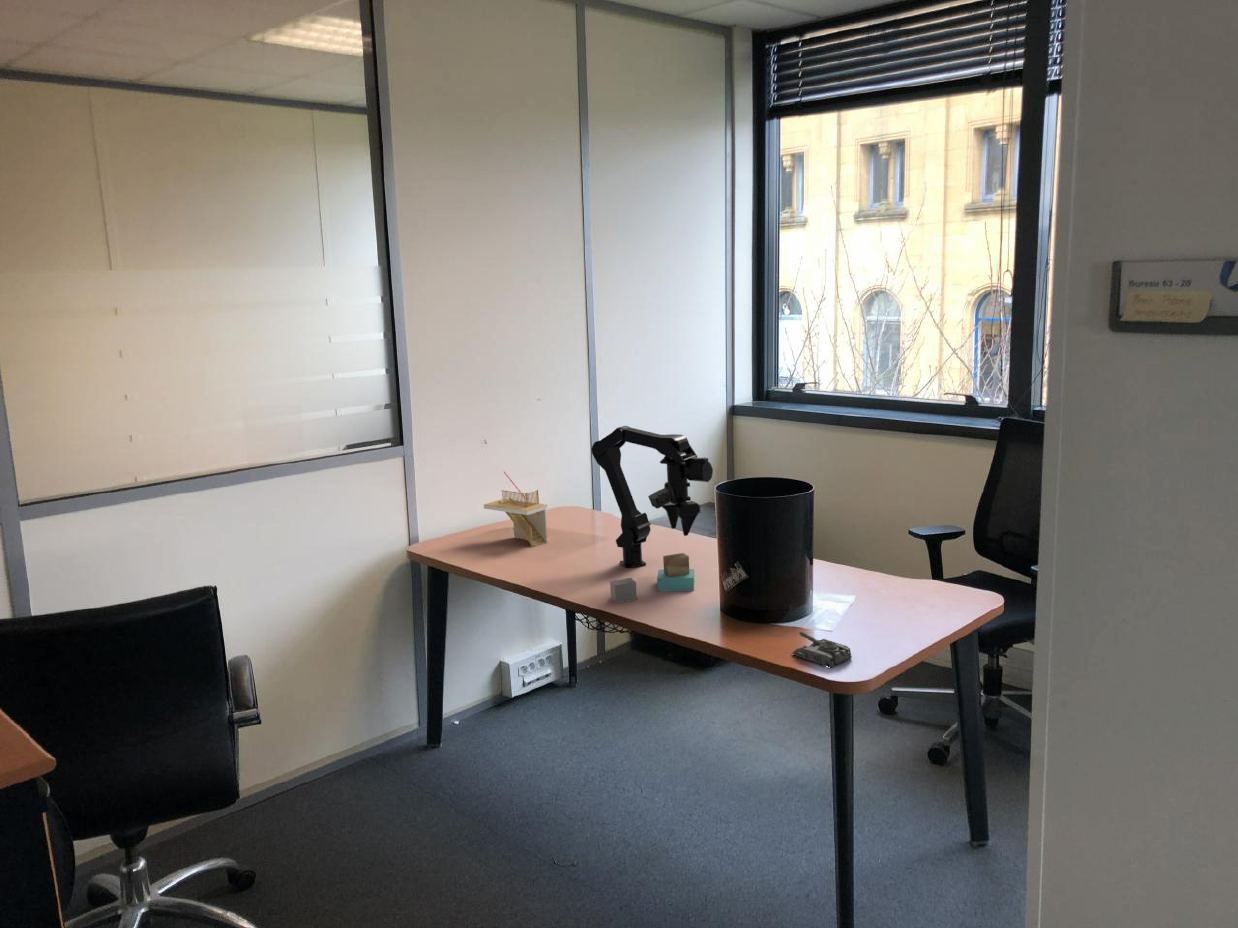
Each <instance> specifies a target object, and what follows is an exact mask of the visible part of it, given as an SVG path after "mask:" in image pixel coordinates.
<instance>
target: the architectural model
mask: <svg viewBox="0 0 1238 928" xmlns="http://www.w3.org/2000/svg"><path fill="white" fill-rule="evenodd" d="M503 473H504V475H505V476H506V477H507V478H508V479H509V481H510V482H511V483H512V485H514V487H515V488H516V489H517V490H518V492H517V491H510V490H500V491H501V494H502V495H501V496H502V499H497V500H495V501H494V500H493V501H492V502H488V503H484V504H483V509H485V510H492V511H499V512H504V513H505V514H506V515H507V516H508V517H509V519H510V520H511V521H512V523H513V533H514V534H513V535H514V538H515V539H519V538H520V539H519V540H525V541H527V542H529V544H530V547H531V548H532V547H533V548H534V547H538V546H541V545H543V544H548V543H549V542H548V527H547V511H546V510H548V504H545V503H540V498H539V497H540V496H539V489H536V490H533V491H532V492H524V493H523V492H521V490H520V489H519V488H518V486H517V485H516V484H515V483H514V481H512V479H511V478H510V477H509V475H508V474H507V473H506V472H505V471H503Z"/></svg>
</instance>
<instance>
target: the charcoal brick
mask: <svg viewBox="0 0 1238 928" xmlns="http://www.w3.org/2000/svg"><path fill="white" fill-rule="evenodd" d="M609 582H610V583H609V585H610V599H611V600H612V601H613V602H614V603H615V602H616V603H615V604H618V603H623V602H622V601H624V602H629V600H630V601H636V600H638V598H637V597H638V594H637V592H638V591H637V582H636V580H634V579H633V578H632V577H629V578H621V579H615V580H609ZM617 602H618V603H617Z"/></svg>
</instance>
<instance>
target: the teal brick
mask: <svg viewBox="0 0 1238 928" xmlns="http://www.w3.org/2000/svg"><path fill="white" fill-rule="evenodd" d="M656 586H657V592H670V591H671V592H674V591H675V592H676V591H678V592H679V590H680V591H683V590H684V591H694V590H695V569H694V568H689V574H685V575H679V576H673V577H669V576H667V575H666V574H664V569H658V572H657V577H656Z"/></svg>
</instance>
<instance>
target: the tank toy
mask: <svg viewBox="0 0 1238 928" xmlns="http://www.w3.org/2000/svg"><path fill="white" fill-rule="evenodd" d="M798 633H799V635H800V636H801V637H802V638H804V639H807V640H809V641H810V642H812V643H811V644H810V645H809V646H807V645H803V646H801V647H798V648H795V650H794V651H793V652H792V653H791V654H794V655H796V656H795V657H798V656H799V657H798V658H801V657H802V659H805V660H808V661H811V662H814V663H817V664H819V665H827V666H828V665H829V666H828V667H830V668H829V669H831V668H834V666H835V665H838V664H841V662H845V661H849V660H851V659H852V658H853V655H852V652H851V648H850V647H849V646H847V645H845V644H842V643H839V642H835V641H831V640H828V639H826V638H822V639H816V638H814V637H813V636H811V635H809V634H807V632H804V631H799V632H798Z"/></svg>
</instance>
